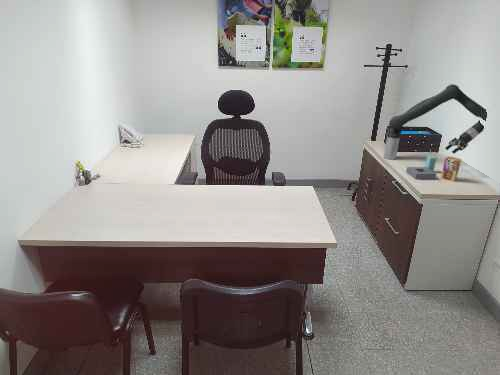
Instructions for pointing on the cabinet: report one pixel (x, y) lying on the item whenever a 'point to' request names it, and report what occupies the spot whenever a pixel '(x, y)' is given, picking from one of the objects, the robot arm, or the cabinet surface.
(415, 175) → the socket block
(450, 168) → the candy box
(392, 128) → the robot arm
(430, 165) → the teal peg
